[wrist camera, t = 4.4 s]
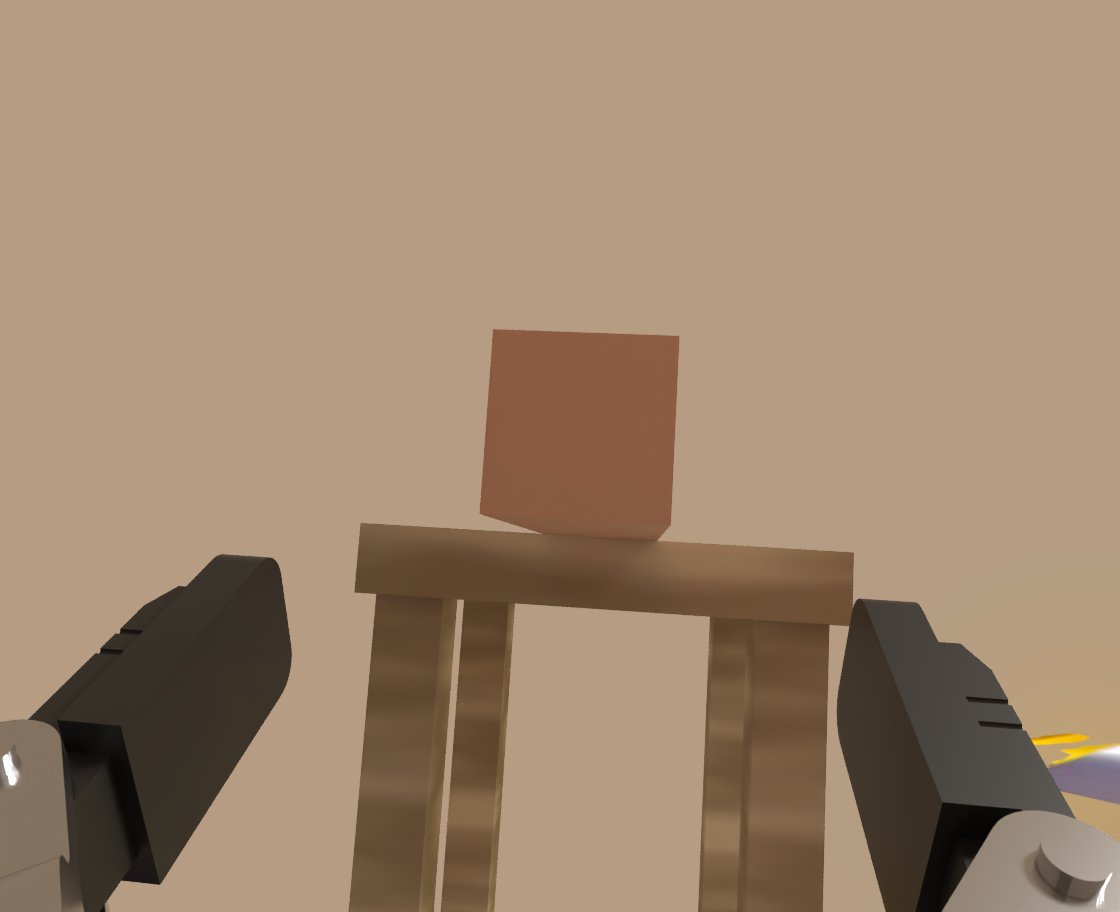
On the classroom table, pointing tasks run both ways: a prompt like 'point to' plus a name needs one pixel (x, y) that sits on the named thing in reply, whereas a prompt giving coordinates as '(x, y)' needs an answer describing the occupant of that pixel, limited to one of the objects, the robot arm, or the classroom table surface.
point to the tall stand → (483, 689)
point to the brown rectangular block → (581, 433)
